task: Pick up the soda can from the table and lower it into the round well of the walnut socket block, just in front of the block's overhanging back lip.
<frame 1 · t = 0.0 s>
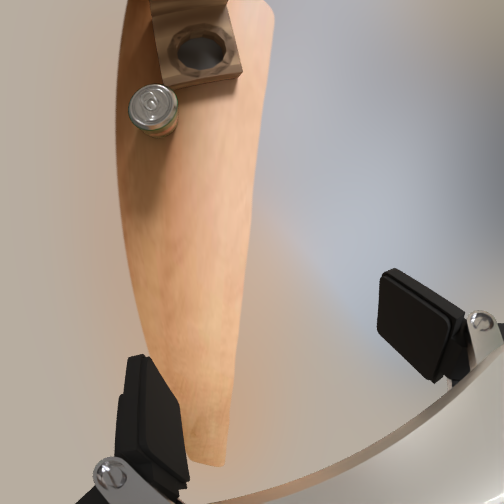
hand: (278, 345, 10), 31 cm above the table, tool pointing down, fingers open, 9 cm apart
soda can: (159, 121, 33), on the table
socket block: (193, 44, 29), on the table
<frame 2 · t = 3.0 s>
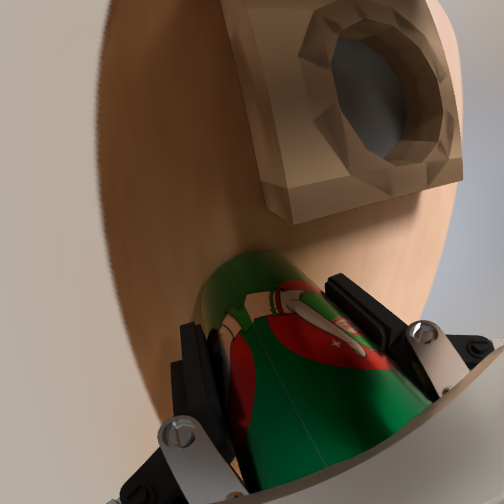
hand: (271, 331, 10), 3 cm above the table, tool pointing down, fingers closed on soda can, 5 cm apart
soda can: (250, 294, 13), on the table, touching gripper
socket block: (339, 56, 10), on the table
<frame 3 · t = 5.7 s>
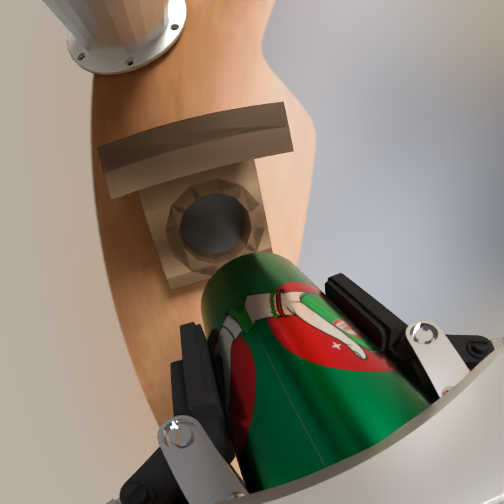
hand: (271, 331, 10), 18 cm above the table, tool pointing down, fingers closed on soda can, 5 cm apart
soda can: (251, 295, 13), point 15 cm above the table, touching gripper
socket block: (201, 201, 26), on the table
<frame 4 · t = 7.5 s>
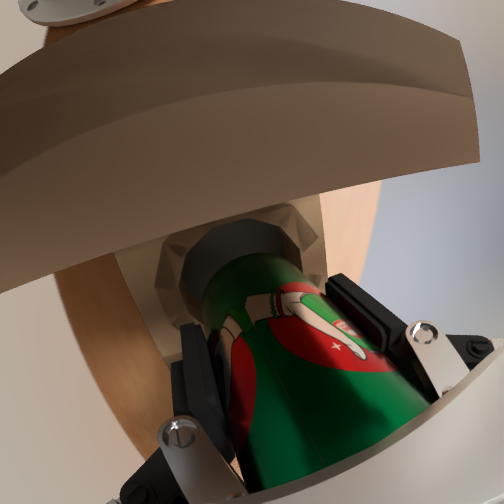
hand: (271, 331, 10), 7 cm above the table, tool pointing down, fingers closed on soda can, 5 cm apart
soda can: (251, 295, 13), point 4 cm above the table, touching gripper
socket block: (215, 228, 16), on the table
when the fingers open (5 cm above the table, at t = 8.4 s): soda can drops 1 cm, resting on socket block.
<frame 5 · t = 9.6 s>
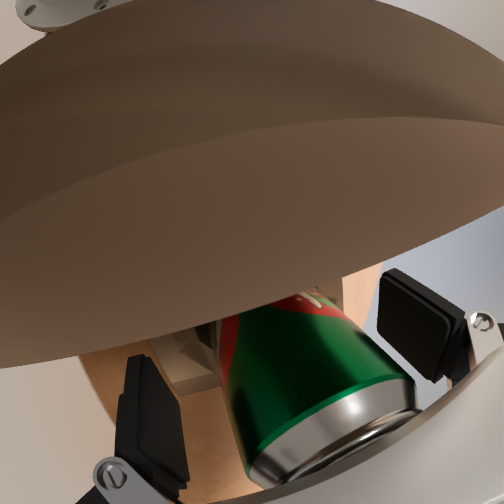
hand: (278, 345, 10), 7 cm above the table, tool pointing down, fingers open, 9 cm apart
soda can: (244, 282, 16), resting on socket block
socket block: (226, 250, 15), on the table
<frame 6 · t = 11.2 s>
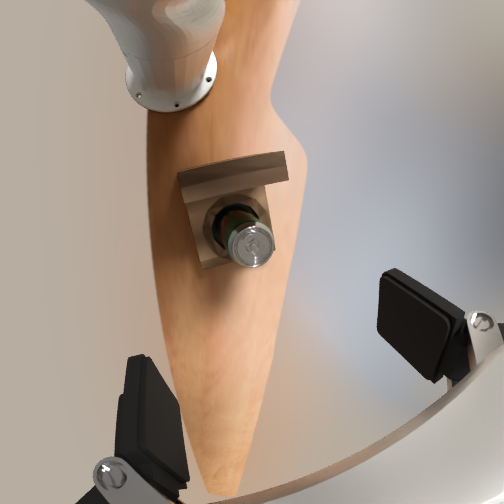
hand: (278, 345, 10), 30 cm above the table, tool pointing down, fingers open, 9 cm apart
soda can: (232, 222, 39), resting on socket block
socket block: (225, 208, 38), on the table
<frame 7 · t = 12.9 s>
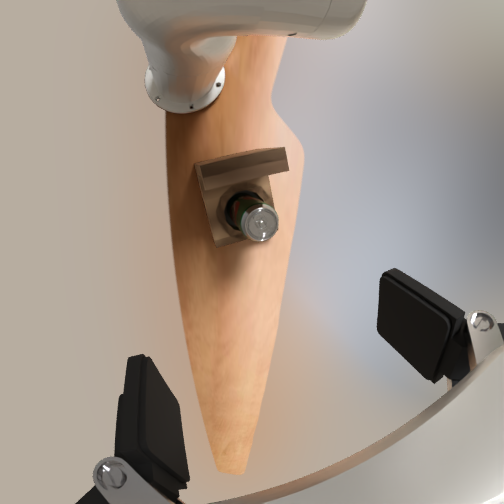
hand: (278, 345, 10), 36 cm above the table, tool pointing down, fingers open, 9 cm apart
soda can: (240, 207, 45), resting on socket block
socket block: (235, 195, 44), on the table
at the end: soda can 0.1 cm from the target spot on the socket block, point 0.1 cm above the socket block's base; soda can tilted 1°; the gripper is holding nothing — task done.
